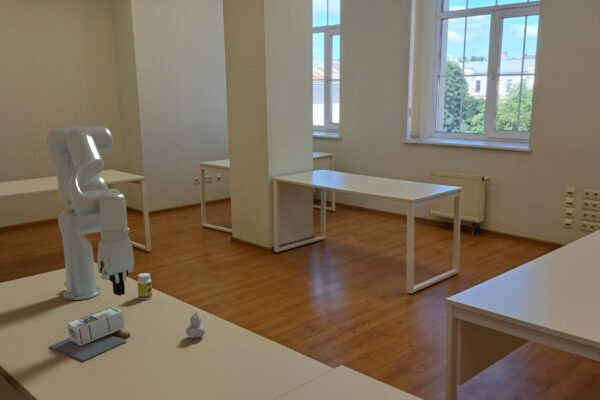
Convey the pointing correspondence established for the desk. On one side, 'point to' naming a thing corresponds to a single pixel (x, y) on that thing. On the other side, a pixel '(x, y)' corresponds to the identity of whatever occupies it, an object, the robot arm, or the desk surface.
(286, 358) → the desk surface
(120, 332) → the strip
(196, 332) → the white irregular lump
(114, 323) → the syrup box
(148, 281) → the supplement bottle
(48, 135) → the robot arm
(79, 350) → the mat
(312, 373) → the desk surface
